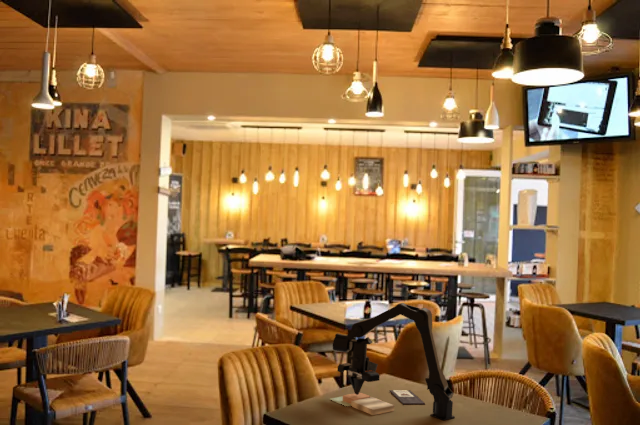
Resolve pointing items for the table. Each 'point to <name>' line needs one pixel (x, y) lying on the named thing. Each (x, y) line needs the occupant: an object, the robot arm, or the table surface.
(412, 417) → the table surface
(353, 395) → the salmon orange rectangular block
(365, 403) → the beige square slab
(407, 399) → the chocolate bar
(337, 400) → the mat
